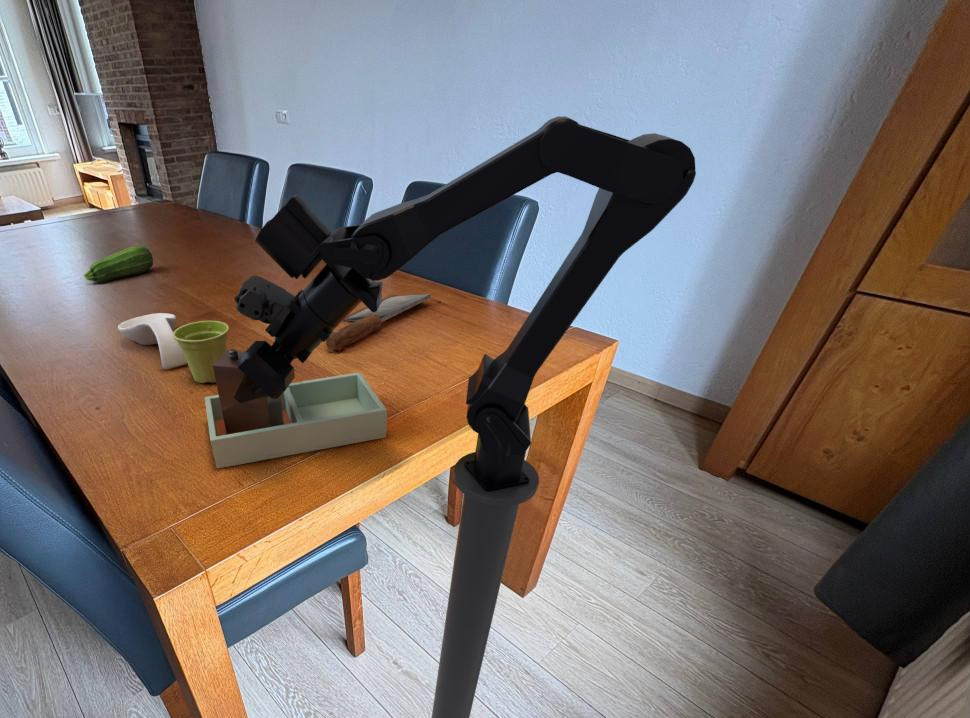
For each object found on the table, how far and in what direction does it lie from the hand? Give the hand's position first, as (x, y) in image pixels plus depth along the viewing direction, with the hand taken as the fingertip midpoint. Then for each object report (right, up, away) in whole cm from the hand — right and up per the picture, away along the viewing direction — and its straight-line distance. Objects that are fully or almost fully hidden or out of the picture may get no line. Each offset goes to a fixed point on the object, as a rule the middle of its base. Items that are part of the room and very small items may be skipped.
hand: (250, 384), depth 70 cm
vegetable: (-50, +45, +77) cm, 102 cm away
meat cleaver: (+19, +21, +40) cm, 49 cm away
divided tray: (+6, -6, +6) cm, 10 cm away
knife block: (0, -6, +5) cm, 8 cm away
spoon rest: (-24, +14, +34) cm, 44 cm away
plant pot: (-11, +5, +22) cm, 25 cm away
